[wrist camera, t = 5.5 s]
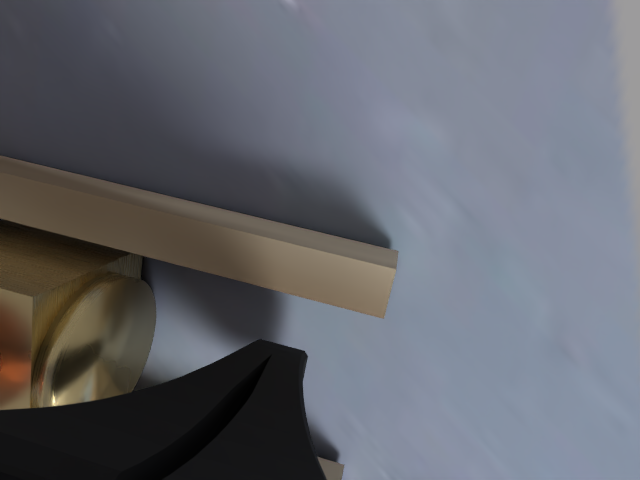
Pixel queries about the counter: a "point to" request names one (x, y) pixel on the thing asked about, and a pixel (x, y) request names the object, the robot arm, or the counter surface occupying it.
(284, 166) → the counter surface
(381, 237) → the counter surface
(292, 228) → the guide rails
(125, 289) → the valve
